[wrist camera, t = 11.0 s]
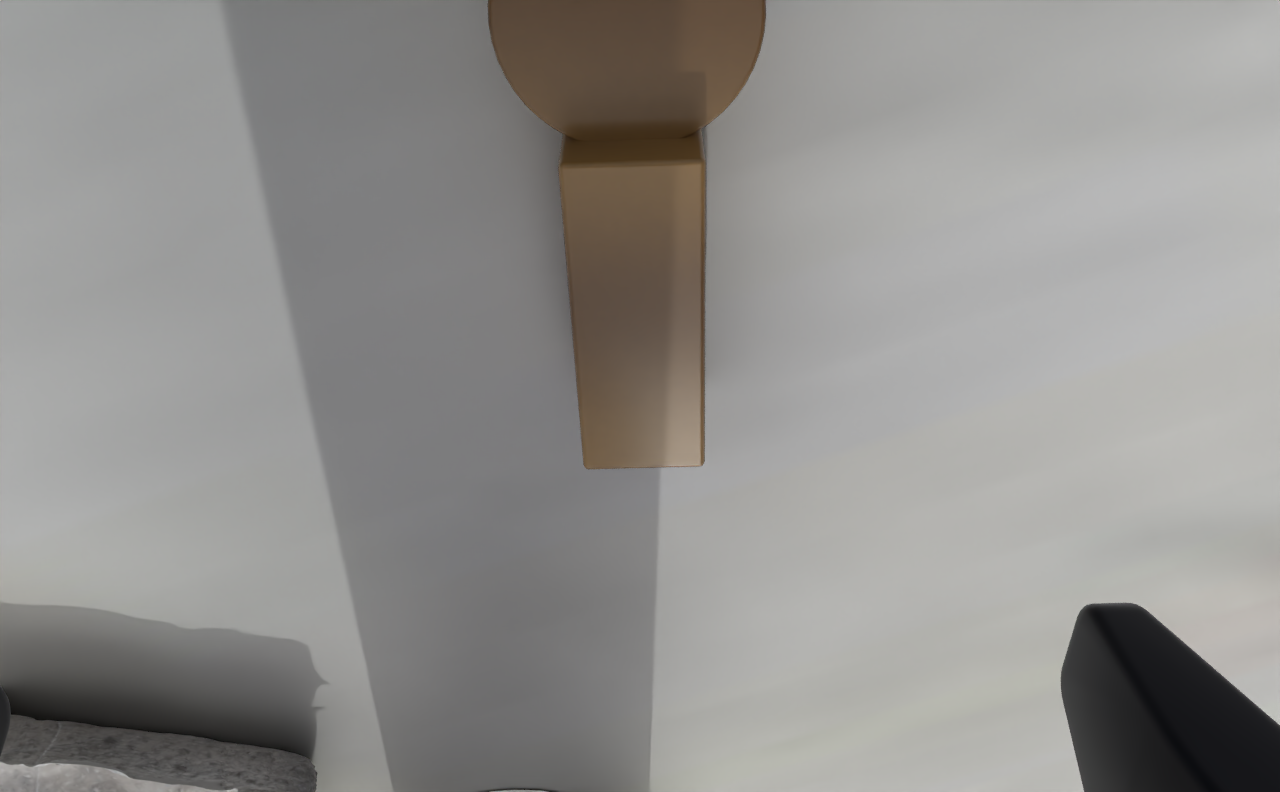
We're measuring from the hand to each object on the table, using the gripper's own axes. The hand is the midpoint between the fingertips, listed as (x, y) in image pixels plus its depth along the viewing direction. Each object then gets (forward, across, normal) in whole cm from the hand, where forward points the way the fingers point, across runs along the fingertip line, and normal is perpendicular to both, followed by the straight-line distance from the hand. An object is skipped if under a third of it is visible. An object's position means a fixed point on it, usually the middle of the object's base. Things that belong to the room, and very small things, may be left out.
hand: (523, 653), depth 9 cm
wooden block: (+11, -1, +1) cm, 11 cm away
